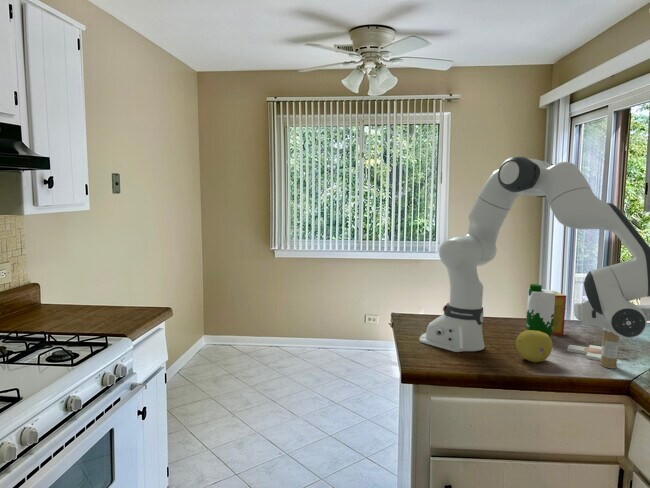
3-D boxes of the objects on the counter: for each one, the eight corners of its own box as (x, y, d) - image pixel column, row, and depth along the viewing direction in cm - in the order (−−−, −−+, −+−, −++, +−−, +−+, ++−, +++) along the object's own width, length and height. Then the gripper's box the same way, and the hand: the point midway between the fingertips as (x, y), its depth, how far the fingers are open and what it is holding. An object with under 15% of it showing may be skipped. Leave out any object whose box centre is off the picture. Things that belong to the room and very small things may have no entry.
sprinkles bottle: (601, 362, 146) (605, 321, 144) (618, 366, 143) (622, 324, 141) (598, 366, 142) (602, 324, 141) (615, 370, 139) (619, 327, 138)
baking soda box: (563, 335, 175) (566, 294, 174) (546, 335, 175) (549, 294, 174) (550, 328, 185) (553, 289, 183) (534, 328, 185) (537, 289, 183)
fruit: (558, 364, 143) (561, 333, 142) (529, 367, 140) (532, 335, 139) (535, 353, 153) (537, 324, 152) (508, 355, 150) (510, 326, 149)
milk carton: (523, 332, 177) (526, 282, 175) (548, 334, 175) (551, 284, 174) (528, 339, 169) (532, 286, 167) (554, 341, 167) (558, 288, 165)
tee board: (565, 354, 153) (565, 351, 153) (570, 344, 164) (570, 341, 164) (604, 361, 146) (604, 358, 146) (606, 350, 158) (606, 347, 158)
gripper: (665, 303, 117) (653, 298, 129) (575, 301, 126) (572, 297, 138) (666, 328, 117) (654, 320, 129) (576, 324, 126) (573, 317, 138)
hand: (611, 308), depth 134 cm, fingers open, 8 cm apart
